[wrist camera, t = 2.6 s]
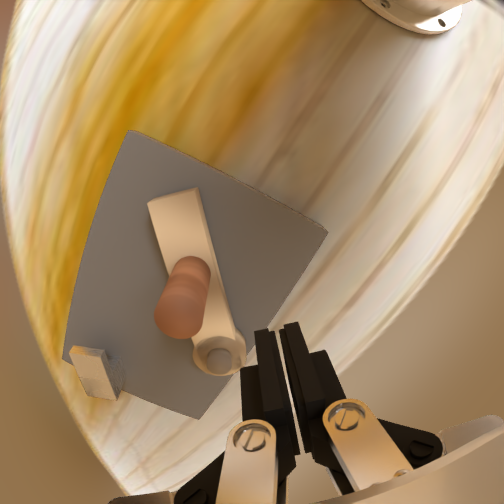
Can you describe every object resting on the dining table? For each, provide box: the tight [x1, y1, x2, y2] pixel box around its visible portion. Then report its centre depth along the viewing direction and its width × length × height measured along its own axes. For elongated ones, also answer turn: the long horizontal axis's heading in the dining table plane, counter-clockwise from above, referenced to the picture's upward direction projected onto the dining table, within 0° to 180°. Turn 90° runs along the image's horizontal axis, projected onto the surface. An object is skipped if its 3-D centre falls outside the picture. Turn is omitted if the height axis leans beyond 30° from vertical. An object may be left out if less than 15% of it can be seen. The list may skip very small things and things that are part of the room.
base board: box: [62, 130, 328, 420], centre depth 22 cm, size 22×15×2 cm
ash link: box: [147, 187, 246, 376], centre depth 18 cm, size 14×4×7 cm, turn 11°
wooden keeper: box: [69, 345, 126, 401], centre depth 21 cm, size 3×5×3 cm, turn 179°
